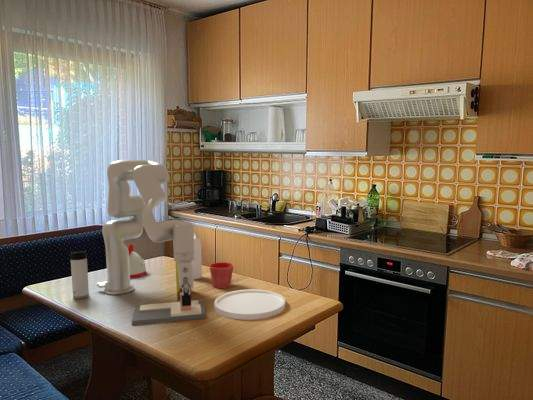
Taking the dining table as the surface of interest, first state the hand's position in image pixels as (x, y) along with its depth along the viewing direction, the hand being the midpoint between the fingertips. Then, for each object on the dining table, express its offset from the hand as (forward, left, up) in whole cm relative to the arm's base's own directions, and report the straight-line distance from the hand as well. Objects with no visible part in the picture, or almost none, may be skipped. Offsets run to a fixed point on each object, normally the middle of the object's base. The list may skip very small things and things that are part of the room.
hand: (186, 301), depth 158 cm
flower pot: (+17, +33, -6) cm, 37 cm away
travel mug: (-43, +33, -6) cm, 55 cm away
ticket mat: (-6, +4, -6) cm, 9 cm away
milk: (+5, +49, -6) cm, 49 cm away
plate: (+25, +5, -6) cm, 26 cm away
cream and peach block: (0, 0, -4) cm, 4 cm away
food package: (0, +23, -6) cm, 24 cm away
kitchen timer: (-25, +63, -6) cm, 68 cm away
